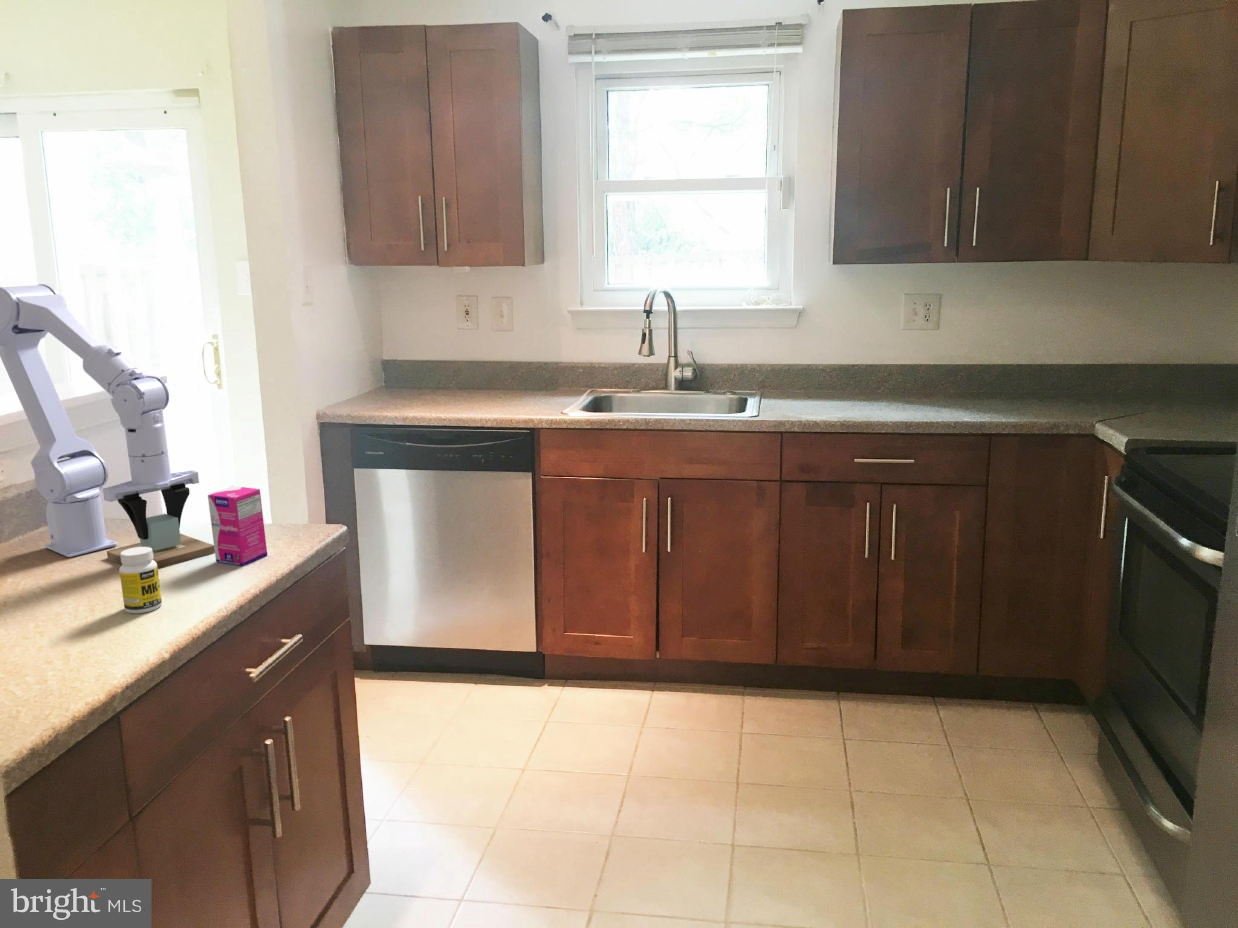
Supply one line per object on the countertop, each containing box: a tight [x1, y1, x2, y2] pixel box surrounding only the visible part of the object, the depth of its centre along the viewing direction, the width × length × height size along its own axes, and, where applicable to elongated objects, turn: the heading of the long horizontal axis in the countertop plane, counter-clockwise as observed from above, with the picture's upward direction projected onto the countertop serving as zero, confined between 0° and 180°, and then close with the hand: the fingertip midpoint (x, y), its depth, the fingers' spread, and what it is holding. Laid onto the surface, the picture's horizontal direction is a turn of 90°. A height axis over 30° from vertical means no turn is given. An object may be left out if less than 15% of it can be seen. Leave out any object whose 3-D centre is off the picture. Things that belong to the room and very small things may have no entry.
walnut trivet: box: [106, 533, 215, 569], centre depth 155 cm, size 12×12×1 cm
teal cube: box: [139, 513, 181, 551], centre depth 154 cm, size 4×4×4 cm
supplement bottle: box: [118, 547, 163, 614], centre depth 131 cm, size 5×5×8 cm
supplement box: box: [207, 485, 268, 567], centre depth 151 cm, size 6×6×12 cm
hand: (159, 534), depth 154 cm, fingers closed on teal cube, 4 cm apart
